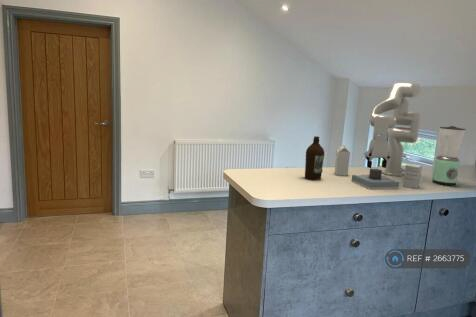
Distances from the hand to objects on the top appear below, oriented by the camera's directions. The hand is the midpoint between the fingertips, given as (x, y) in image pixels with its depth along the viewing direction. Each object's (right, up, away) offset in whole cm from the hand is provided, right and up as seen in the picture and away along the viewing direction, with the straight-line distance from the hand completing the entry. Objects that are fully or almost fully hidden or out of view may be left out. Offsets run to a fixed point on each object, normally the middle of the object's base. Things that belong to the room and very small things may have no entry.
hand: (376, 167), depth 205 cm
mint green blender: (+47, -10, +16) cm, 51 cm away
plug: (-1, -9, +1) cm, 9 cm away
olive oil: (-34, -7, +9) cm, 36 cm away
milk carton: (-13, -5, +26) cm, 29 cm away
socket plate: (-1, -10, +1) cm, 10 cm away
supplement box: (+21, -11, +2) cm, 24 cm away
